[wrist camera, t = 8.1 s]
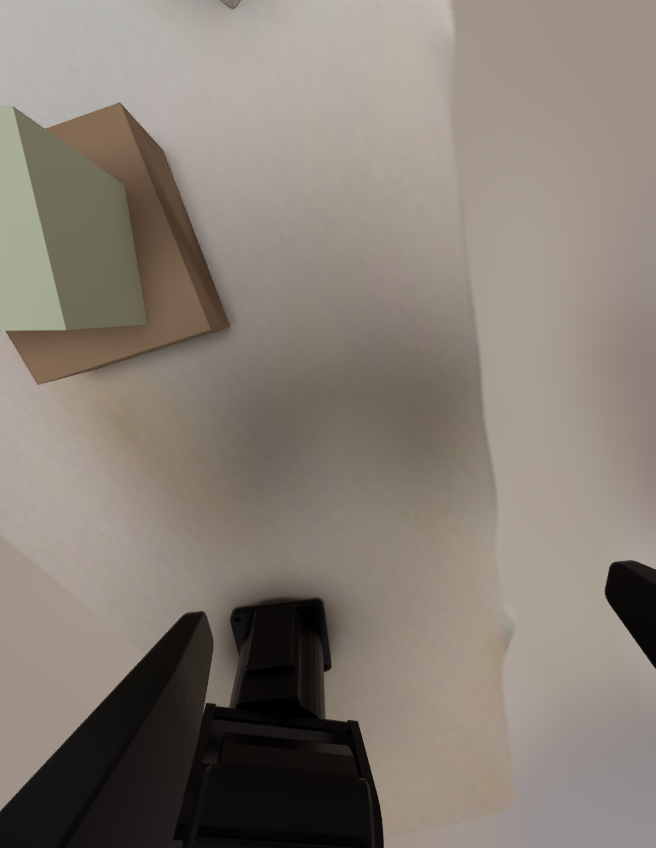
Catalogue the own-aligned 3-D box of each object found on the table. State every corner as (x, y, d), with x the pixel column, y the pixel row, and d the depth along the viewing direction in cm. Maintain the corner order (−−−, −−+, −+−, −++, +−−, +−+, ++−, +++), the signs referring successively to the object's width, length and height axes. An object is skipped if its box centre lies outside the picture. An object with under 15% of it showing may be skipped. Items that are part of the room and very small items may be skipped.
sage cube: (147, 324, 14) (66, 330, 9) (22, 325, 14) (-127, 331, 9) (124, 184, 13) (13, 106, 8) (-17, 182, 12) (-222, 100, 8)
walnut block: (231, 325, 18) (210, 329, 14) (93, 369, 18) (37, 384, 15) (166, 153, 16) (119, 102, 12) (7, 208, 16) (-87, 175, 12)
